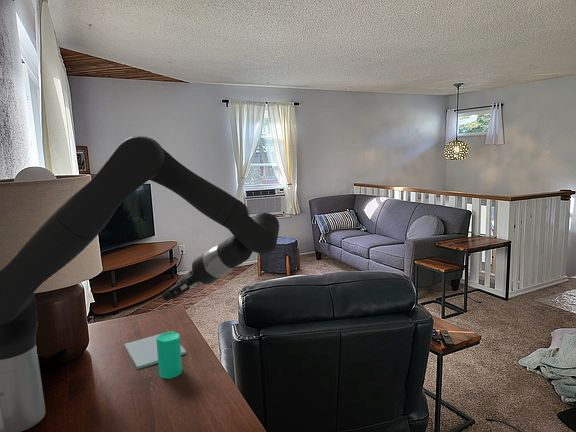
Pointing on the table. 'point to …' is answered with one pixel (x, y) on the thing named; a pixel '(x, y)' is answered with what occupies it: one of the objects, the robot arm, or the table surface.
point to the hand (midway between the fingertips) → (173, 290)
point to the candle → (169, 354)
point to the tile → (145, 351)
